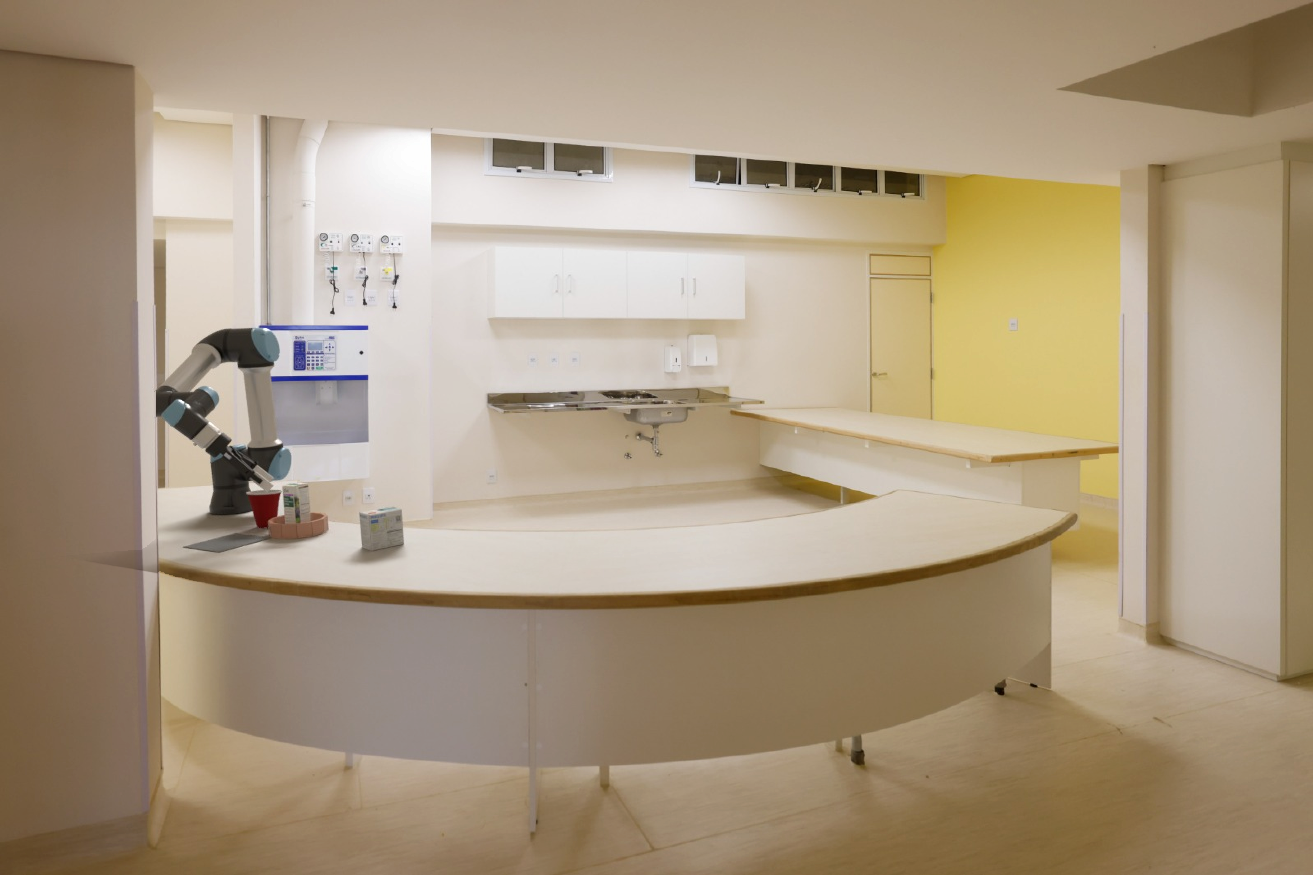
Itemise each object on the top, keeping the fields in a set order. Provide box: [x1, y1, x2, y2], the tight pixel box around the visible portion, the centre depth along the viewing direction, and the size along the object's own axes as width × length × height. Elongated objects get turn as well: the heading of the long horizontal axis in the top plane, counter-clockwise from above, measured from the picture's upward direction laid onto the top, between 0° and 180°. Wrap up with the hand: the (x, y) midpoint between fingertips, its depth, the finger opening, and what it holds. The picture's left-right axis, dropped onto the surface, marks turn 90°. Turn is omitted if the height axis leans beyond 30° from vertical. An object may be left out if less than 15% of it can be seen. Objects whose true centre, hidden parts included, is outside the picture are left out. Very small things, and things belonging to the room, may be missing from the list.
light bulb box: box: [358, 506, 405, 552], centre depth 254 cm, size 11×7×11 cm, turn 134°
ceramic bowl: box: [267, 511, 330, 540], centre depth 273 cm, size 17×17×4 cm
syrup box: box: [281, 482, 311, 524], centre depth 273 cm, size 6×6×14 cm
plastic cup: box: [246, 489, 283, 529], centre depth 282 cm, size 11×11×12 cm
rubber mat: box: [183, 532, 272, 553], centre depth 262 cm, size 18×16×1 cm
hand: (270, 485), depth 268 cm, fingers open, 13 cm apart
